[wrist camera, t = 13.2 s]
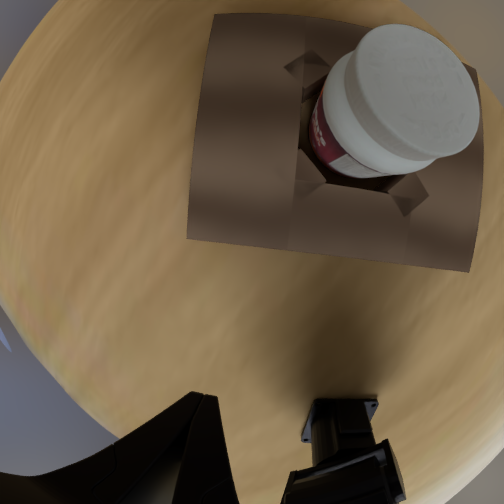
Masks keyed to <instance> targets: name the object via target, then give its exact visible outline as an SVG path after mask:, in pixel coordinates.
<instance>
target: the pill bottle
mask: <svg viewBox="0 0 504 504" xmlns="http://www.w3.org/2000/svg"><path fill="white" fill-rule="evenodd" d="M479 117H480V112H479V102H478V96H477V93H476V89H475V86H474V84H473V82H472V79H471V77H470V75H469V73H468V72H467V70H466V68H465V67H464V65H463V64H462V63H461V61H460V60H459V59H458V57H457V56H456V55H455V54H454V53H453V52H452V51H451V50H450V49H449V48H448V47H447V46H446V45H445V44H444V43H442V42H441V41H440V40H438V39H437V38H435V37H434V36H432V35H431V34H429V33H427V32H425V31H423V30H420V29H418V28H415V27H412V26H408V25H404V24H387V25H382V26H379V27H377V28H374V29H373V30H371V31H369V32H368V33H367V34H366V35H365V36H364V37H363V38H362V39H361V41H360V42H359V44H358V46H357V47H356V49H355V50H354V51H352V52H350V53H348V54H346V55H345V56H343V57H342V58H341V59H339V60H338V61H337V62H336V64H335V65H334V66H333V67H332V69H331V71H330V72H329V74H328V77H327V79H326V81H325V83H324V86H323V88H322V91H321V93H320V96H319V98H318V101H317V103H316V106H315V108H314V111H313V113H312V116H311V119H310V123H309V140H310V144H311V146H312V149H313V151H314V153H315V155H316V156H317V158H318V159H319V160H320V162H321V163H322V164H323V165H324V166H325V167H326V168H328V169H329V170H330V171H332V172H334V173H336V174H338V175H340V176H343V177H347V178H353V179H361V178H370V177H378V176H387V175H398V174H407V173H412V172H416V171H418V170H421V169H423V168H425V167H427V166H428V165H430V164H431V163H432V162H433V161H434V160H435V159H437V158H440V157H446V156H450V155H453V154H456V153H458V152H460V151H462V150H463V149H465V148H466V147H467V146H468V145H469V144H470V143H471V141H472V140H473V138H474V136H475V134H476V132H477V129H478V124H479Z"/></svg>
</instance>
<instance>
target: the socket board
mask: <svg viewBox="0 0 504 504" xmlns="http://www.w3.org/2000/svg"><path fill="white" fill-rule="evenodd" d="M371 30H373V29H372V28H368V27H363V26H359V25H355V24H350V23H345V22H340V21H335V20H329V19H322V18H315V17H308V16H298V15H287V14H270V13H228V14H215V15H214V19H213V24H212V29H211V34H210V39H209V44H208V50H207V55H206V61H205V67H204V73H203V79H202V86H201V92H200V99H199V106H198V114H197V122H196V130H195V139H194V148H193V158H192V168H191V179H190V192H189V206H188V222H187V239H192V240H201V241H210V242H219V243H228V244H236V245H245V246H254V247H263V248H271V249H280V250H288V251H297V252H305V253H314V254H322V255H331V256H339V257H347V258H356V259H364V260H372V261H380V262H389V263H397V264H405V265H413V266H421V267H429V268H437V269H445V270H453V271H460V272H468V273H469V271H470V267H471V262H472V258H473V253H474V248H475V242H476V236H477V230H478V223H479V216H480V208H481V198H482V185H483V160H484V146H483V121H482V109H481V99H480V91H479V84H478V78H477V72H476V70H475V69H474V68H472V67H470V66H468V65H466V64H464V63H462V62H461V63H462V64H463V65H464V67H465V68H466V70H467V72H468V73H469V75H470V77H471V79H472V82H473V84H474V86H475V89H476V93H477V96H478V102H479V112H480V117H479V124H478V129H477V132H476V134H475V136H474V138H473V140H472V141H471V143H470V144H469V145H468V146H467V147H466V148H465V149H463V150H462V151H460V152H458V153H456V154H453V155H450V156H446V157H440V158H437V159H435V160H434V161H433V162H432V163H431V164H430V165H428V166H427V167H425V168H423V169H421V170H418V171H416V172H412V173H407V174H398V175H391V176H390V177H389V178H388V179H386V180H385V181H384V182H383V183H382V184H380V185H379V186H378V187H377V188H375V189H374V190H373V191H370V190H364V189H358V188H352V187H346V186H340V185H333V184H326V183H325V182H326V179H325V178H324V177H323V175H322V174H321V173H320V172H319V170H318V169H317V168H316V167H315V165H314V164H313V163H312V162H311V161H310V159H309V158H308V157H307V156H306V155H305V153H304V152H303V151H302V150H301V149H299V150H298V141H299V129H300V116H301V103H303V102H305V101H306V100H307V99H309V98H310V97H312V96H313V95H314V94H316V93H317V92H319V91H320V90H322V88H323V86H324V83H325V81H326V79H327V77H328V74H329V72H330V71H331V69H332V67H333V66H334V65H335V64H336V62H337V61H338V60H339V59H341V58H342V57H343V56H345V55H346V54H348V53H350V52H352V51H354V50H355V49H356V47H357V46H358V44H359V42H360V41H361V39H362V38H363V37H364V36H365V35H366V34H367V33H368V32H369V31H371Z"/></svg>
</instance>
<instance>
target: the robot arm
mask: <svg viewBox="0 0 504 504" xmlns="http://www.w3.org/2000/svg"><path fill="white" fill-rule="evenodd" d="M318 403H320V404H318ZM378 405H379V403H378V401H377V399H316V400H314V402H313V404H312V407H311V410H310V413H309V416H308V419H307V422H306V425H305V428H304V431H303V433H302V436H301V441H302V442H304V443H311V445H312V464H313V467H310V468H307V469H303V470H299V471H297V470H295V471H291V472H290V475H289V478H288V481H287V484H286V488H285V491H284V494H283V497H282V500H281V503H280V504H399V502H401V501H403V500H406V494H405V489H404V483H403V478H402V475H401V472H400V468H399V465H398V462H397V459H396V457H395V454H394V452H393V450H392V447H391V445H390V443H389V440H388V438H387V439H385V440H383V441H382V442H381V443H378V444H376V442H375V439H374V435H373V432H372V426H371V423H370V421H371V419H372V417H373V415H374V413H375V411H376V409H377V407H378ZM0 504H239V501H238V497H237V493H236V490H235V485H234V481H233V479H232V472H231V467H230V463H229V458H228V453H227V447H226V442H225V437H224V431H223V426H222V420H221V414H220V408H219V402H218V397H217V396H214V395H208V394H205V395H204V394H203V393H199V392H194V391H191V392H189V393H188V394H186V395H185V396H184V397H182V398H181V399H179V400H178V401H177V402H175V403H174V404H172V405H171V406H170V407H168V408H167V409H165V410H164V411H162V412H161V413H159V414H158V415H156V416H155V417H154V418H152V419H151V420H149V421H148V422H146V423H145V424H143V425H141V426H140V427H138V428H137V429H135V430H134V431H132V432H131V433H129V434H127V435H126V436H124V437H123V438H121V439H120V440H118V441H116V442H115V443H114V445H113V444H111V445H110V446H108V447H106V448H105V449H103V450H101V451H99V452H97V453H95V454H94V455H92V456H90V457H88V458H85V459H83V460H81V461H78V462H76V463H74V464H71V465H68V466H66V467H63V468H60V469H57V470H55V471H52V472H49V473H46V474H42V475H37V476H20V475H14V474H8V473H3V472H0Z"/></svg>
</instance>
